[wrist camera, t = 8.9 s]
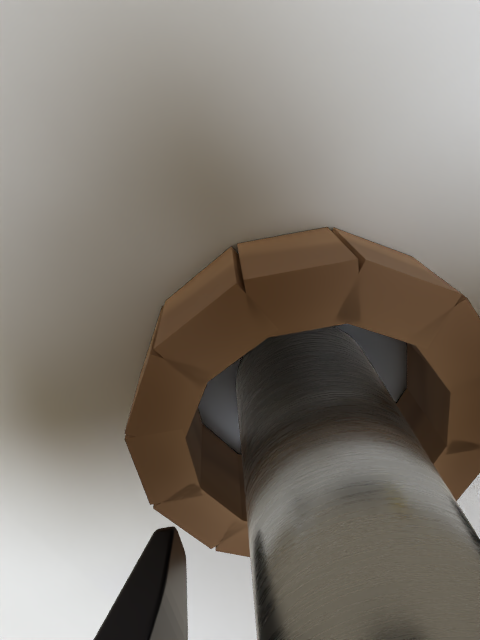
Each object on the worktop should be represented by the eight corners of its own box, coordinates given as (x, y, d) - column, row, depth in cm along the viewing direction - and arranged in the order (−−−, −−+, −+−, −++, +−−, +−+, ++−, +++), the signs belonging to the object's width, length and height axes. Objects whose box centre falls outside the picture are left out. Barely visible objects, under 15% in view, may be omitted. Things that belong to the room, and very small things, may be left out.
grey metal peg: (370, 422, 14) (599, 878, 6) (247, 442, 14) (297, 922, 6) (366, 311, 12) (698, 750, 4) (224, 336, 12) (251, 817, 4)
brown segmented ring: (445, 467, 15) (487, 532, 12) (185, 511, 15) (180, 583, 13) (464, 201, 10) (533, 227, 8) (103, 268, 11) (74, 310, 8)
